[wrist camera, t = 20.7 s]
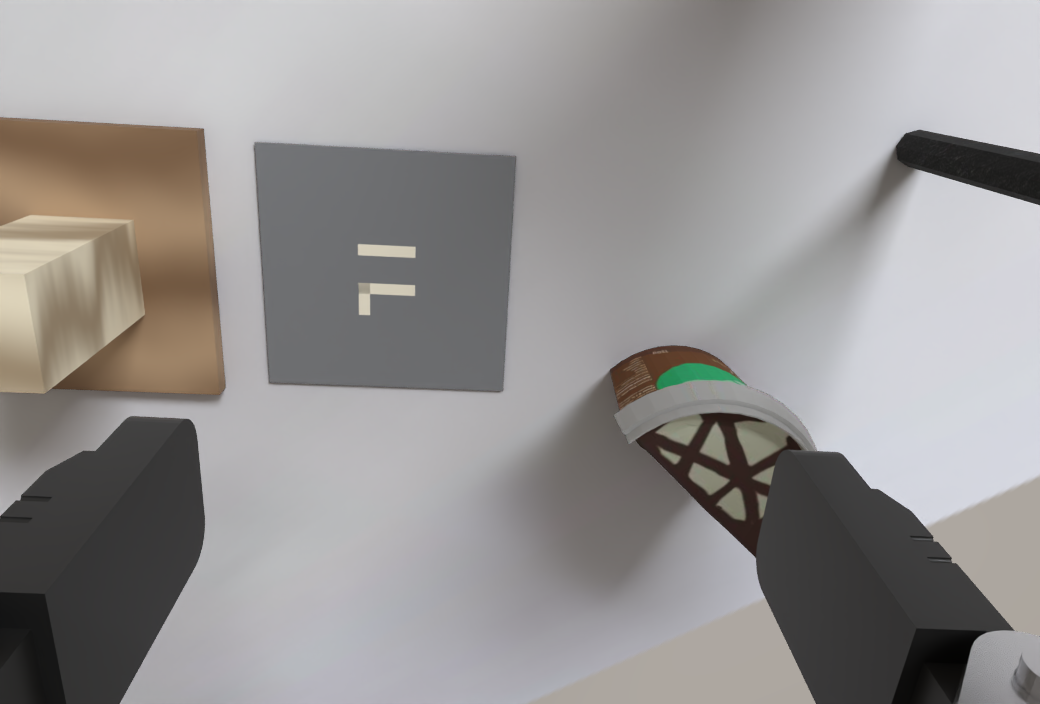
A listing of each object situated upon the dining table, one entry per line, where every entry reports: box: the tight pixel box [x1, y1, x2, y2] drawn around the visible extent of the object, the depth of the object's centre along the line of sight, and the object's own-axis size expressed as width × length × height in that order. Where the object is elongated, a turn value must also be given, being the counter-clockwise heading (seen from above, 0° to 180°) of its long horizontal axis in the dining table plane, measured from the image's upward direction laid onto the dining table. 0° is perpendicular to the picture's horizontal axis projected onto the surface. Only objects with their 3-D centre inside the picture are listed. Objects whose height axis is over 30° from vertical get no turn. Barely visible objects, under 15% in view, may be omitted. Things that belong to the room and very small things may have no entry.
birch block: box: [0, 215, 145, 394], centre depth 35 cm, size 5×5×10 cm
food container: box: [610, 346, 817, 557], centre depth 40 cm, size 12×6×10 cm, turn 44°
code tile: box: [255, 142, 516, 391], centre depth 42 cm, size 13×13×1 cm
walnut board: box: [0, 117, 225, 395], centre depth 41 cm, size 14×12×1 cm
